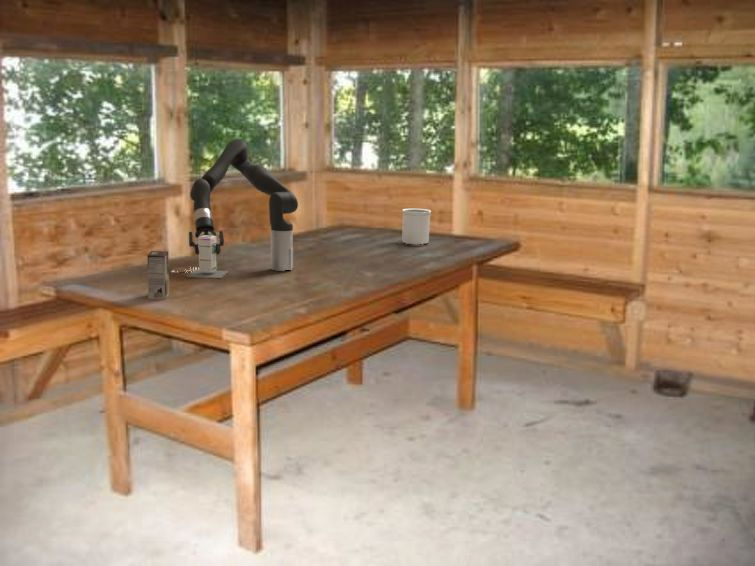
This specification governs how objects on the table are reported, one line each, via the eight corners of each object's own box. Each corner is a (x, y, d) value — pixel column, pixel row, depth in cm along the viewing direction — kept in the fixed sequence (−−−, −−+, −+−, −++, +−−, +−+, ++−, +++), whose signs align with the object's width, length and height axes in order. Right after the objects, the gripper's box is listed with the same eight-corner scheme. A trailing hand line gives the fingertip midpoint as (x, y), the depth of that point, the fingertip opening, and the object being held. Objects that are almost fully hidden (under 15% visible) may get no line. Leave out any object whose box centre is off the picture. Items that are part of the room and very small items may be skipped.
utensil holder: (430, 246, 448) (431, 212, 445) (401, 245, 448) (402, 211, 445) (428, 241, 463) (430, 208, 459) (400, 240, 463) (402, 208, 459)
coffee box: (151, 293, 320) (151, 250, 317) (169, 294, 321) (169, 250, 318) (147, 299, 312) (146, 255, 308) (166, 299, 312) (165, 255, 309)
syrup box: (211, 272, 355) (211, 237, 352) (198, 271, 356) (198, 236, 353) (217, 270, 360) (217, 235, 357) (203, 269, 361) (203, 234, 358)
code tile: (205, 267, 372) (205, 267, 372) (199, 273, 360) (199, 272, 360) (178, 266, 372) (178, 266, 372) (170, 272, 361) (170, 271, 361)
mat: (228, 272, 365) (228, 271, 365) (221, 278, 351) (220, 277, 351) (194, 270, 365) (194, 269, 365) (186, 277, 351) (186, 276, 351)
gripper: (220, 226, 369) (224, 258, 360) (185, 227, 364) (189, 259, 356) (222, 215, 363) (226, 247, 354) (187, 216, 358) (191, 248, 350)
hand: (208, 253), depth 355 cm, fingers closed on syrup box, 7 cm apart
